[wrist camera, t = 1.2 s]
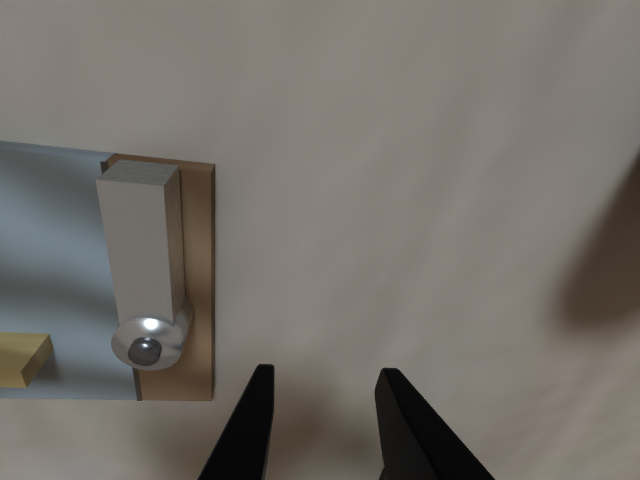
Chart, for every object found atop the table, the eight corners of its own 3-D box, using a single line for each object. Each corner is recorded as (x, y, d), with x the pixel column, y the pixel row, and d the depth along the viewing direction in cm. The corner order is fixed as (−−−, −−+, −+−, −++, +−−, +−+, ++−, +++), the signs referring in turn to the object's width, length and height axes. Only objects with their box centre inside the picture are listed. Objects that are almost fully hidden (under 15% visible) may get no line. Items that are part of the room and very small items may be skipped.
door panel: (214, 385, 25) (204, 438, 22) (-12, 381, 23) (-60, 439, 20) (215, 164, 18) (199, 195, 14) (-125, 127, 16) (-234, 154, 12)
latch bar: (194, 332, 21) (180, 379, 18) (134, 330, 20) (111, 378, 18) (188, 166, 16) (168, 195, 13) (110, 158, 16) (73, 186, 13)
